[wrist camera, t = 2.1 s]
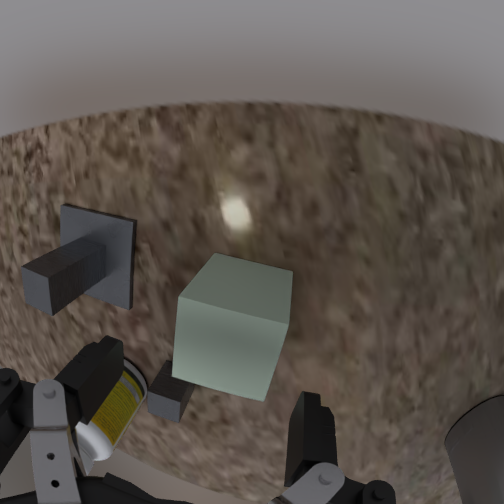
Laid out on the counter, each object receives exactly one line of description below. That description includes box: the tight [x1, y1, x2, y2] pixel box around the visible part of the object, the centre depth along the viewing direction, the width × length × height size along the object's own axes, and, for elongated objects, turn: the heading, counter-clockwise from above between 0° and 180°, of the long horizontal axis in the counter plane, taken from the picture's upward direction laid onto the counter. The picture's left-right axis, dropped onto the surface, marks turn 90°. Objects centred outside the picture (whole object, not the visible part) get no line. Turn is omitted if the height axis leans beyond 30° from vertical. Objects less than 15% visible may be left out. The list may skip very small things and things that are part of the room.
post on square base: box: [21, 204, 137, 316], centre depth 18 cm, size 7×7×7 cm
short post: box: [147, 360, 194, 423], centre depth 22 cm, size 3×3×4 cm
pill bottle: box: [76, 359, 147, 475], centre depth 20 cm, size 6×6×11 cm
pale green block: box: [172, 253, 293, 402], centre depth 18 cm, size 5×5×7 cm
